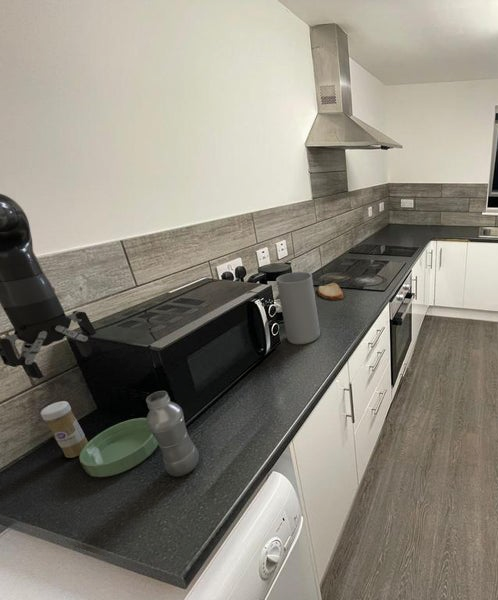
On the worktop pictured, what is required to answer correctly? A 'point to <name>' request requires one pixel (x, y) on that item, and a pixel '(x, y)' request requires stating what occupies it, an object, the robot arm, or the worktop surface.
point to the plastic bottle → (171, 434)
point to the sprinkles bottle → (65, 428)
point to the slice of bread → (330, 292)
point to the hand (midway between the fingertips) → (64, 366)
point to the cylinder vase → (298, 307)
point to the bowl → (118, 448)
